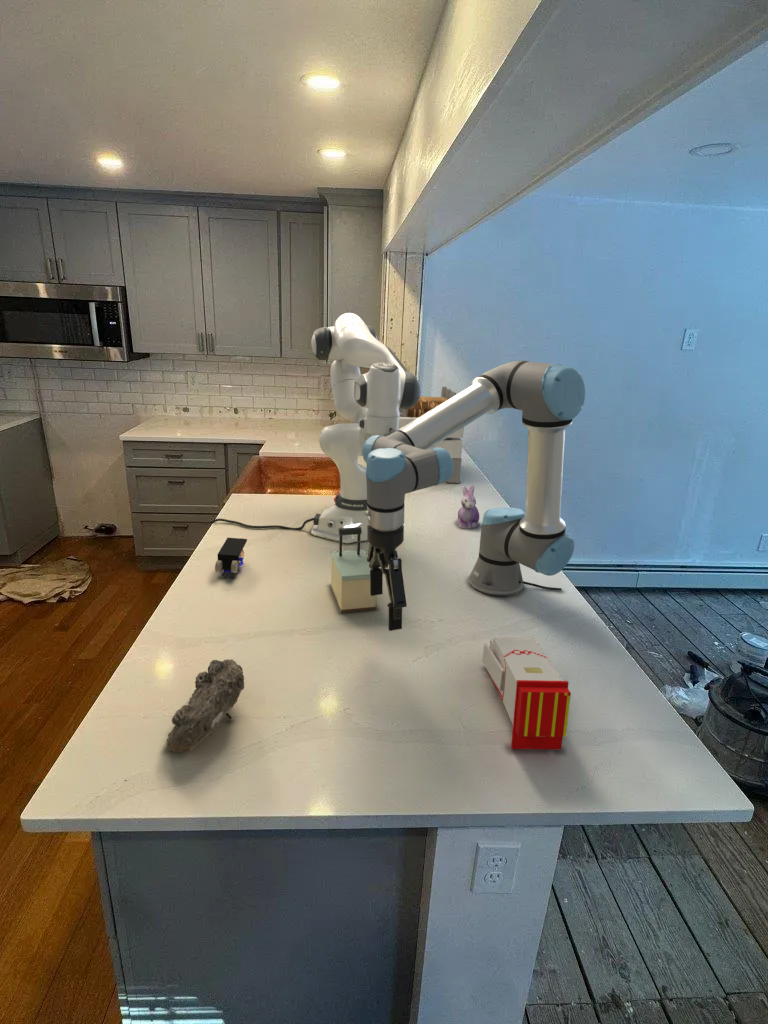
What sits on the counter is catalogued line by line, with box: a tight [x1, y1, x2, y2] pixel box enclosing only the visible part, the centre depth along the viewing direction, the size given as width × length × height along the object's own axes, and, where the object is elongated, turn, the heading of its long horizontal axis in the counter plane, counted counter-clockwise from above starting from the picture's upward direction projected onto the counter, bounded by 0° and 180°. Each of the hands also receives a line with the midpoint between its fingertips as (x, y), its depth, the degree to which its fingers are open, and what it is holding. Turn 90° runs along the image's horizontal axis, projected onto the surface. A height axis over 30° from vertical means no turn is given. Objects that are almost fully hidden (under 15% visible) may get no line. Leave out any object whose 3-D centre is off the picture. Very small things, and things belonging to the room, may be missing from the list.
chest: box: [330, 556, 377, 614], centre depth 153 cm, size 15×9×9 cm, turn 15°
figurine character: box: [214, 537, 248, 578], centre depth 166 cm, size 7×8×15 cm
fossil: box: [166, 658, 245, 754], centre depth 106 cm, size 22×10×15 cm
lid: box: [330, 527, 371, 581], centre depth 150 cm, size 16×9×9 cm, turn 15°
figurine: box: [456, 484, 480, 530], centre depth 209 cm, size 9×10×15 cm
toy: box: [481, 636, 572, 751], centre depth 115 cm, size 12×13×30 cm
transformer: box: [399, 386, 465, 484], centre depth 268 cm, size 34×33×41 cm
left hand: (381, 475), depth 157 cm, fingers open, 8 cm apart
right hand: (385, 610), depth 125 cm, fingers open, 13 cm apart
